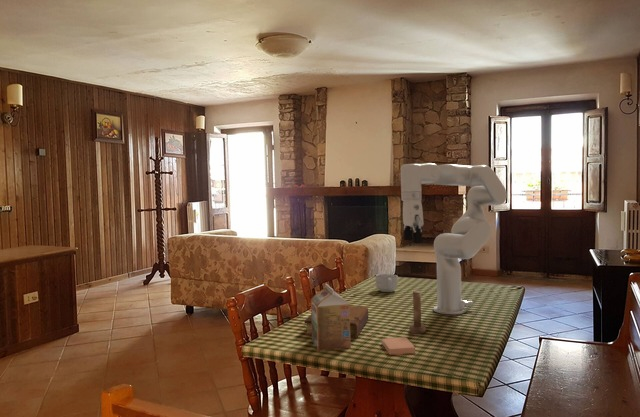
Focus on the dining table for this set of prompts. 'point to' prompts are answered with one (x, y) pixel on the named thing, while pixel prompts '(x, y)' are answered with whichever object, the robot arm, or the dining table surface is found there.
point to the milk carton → (330, 320)
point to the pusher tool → (417, 315)
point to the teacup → (386, 282)
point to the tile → (398, 345)
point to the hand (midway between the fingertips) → (412, 241)
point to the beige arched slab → (356, 321)
